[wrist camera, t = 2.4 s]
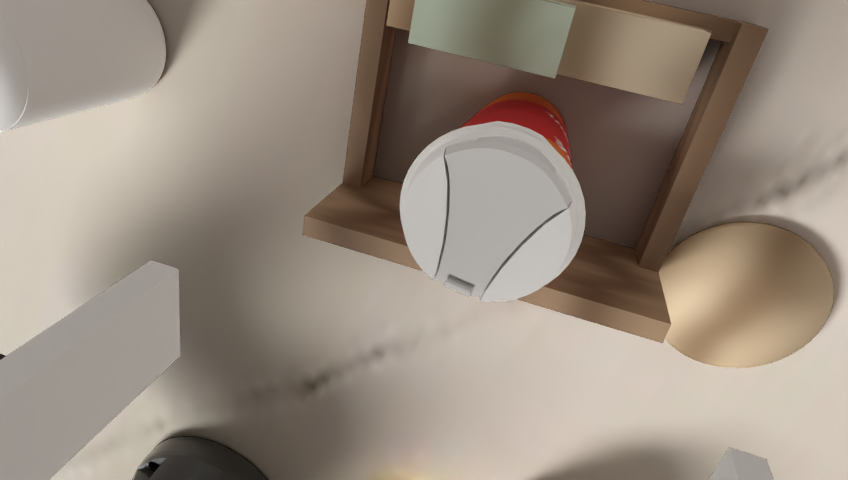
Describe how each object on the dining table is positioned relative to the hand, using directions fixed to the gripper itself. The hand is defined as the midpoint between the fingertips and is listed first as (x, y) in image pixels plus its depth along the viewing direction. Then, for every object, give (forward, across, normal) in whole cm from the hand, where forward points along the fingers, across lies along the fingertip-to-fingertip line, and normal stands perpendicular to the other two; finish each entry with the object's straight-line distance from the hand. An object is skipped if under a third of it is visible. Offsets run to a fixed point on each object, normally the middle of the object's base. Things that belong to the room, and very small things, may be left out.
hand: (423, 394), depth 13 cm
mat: (+24, +15, -6) cm, 29 cm away
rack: (+24, 0, +1) cm, 24 cm away
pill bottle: (+24, -28, 0) cm, 37 cm away
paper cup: (+24, 0, 0) cm, 24 cm away
